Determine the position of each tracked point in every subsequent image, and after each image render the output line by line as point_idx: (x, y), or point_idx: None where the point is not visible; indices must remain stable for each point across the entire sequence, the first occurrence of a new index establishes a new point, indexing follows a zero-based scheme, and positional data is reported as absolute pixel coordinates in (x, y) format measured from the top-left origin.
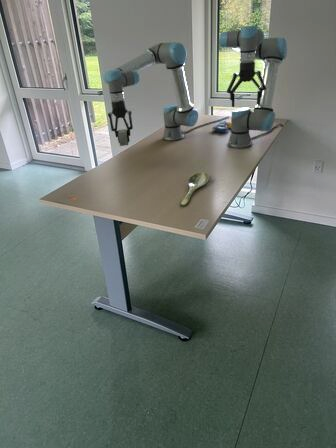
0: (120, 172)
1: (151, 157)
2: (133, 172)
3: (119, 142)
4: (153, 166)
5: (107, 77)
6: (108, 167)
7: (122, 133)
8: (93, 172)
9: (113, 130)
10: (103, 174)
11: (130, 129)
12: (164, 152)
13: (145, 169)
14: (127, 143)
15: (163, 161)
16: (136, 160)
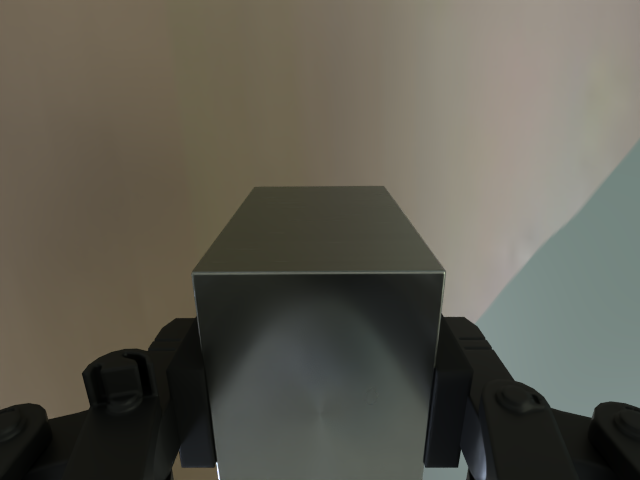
0: (379, 89)
1: None
2: (265, 59)
3: (393, 199)
4: (107, 157)
5: None
6: (476, 227)
7: (312, 260)
8: (604, 149)
9: (582, 427)
10: (525, 79)
11: (82, 416)
12: (71, 408)
13: (166, 105)
14: (257, 192)
15: (43, 244)
16: None
